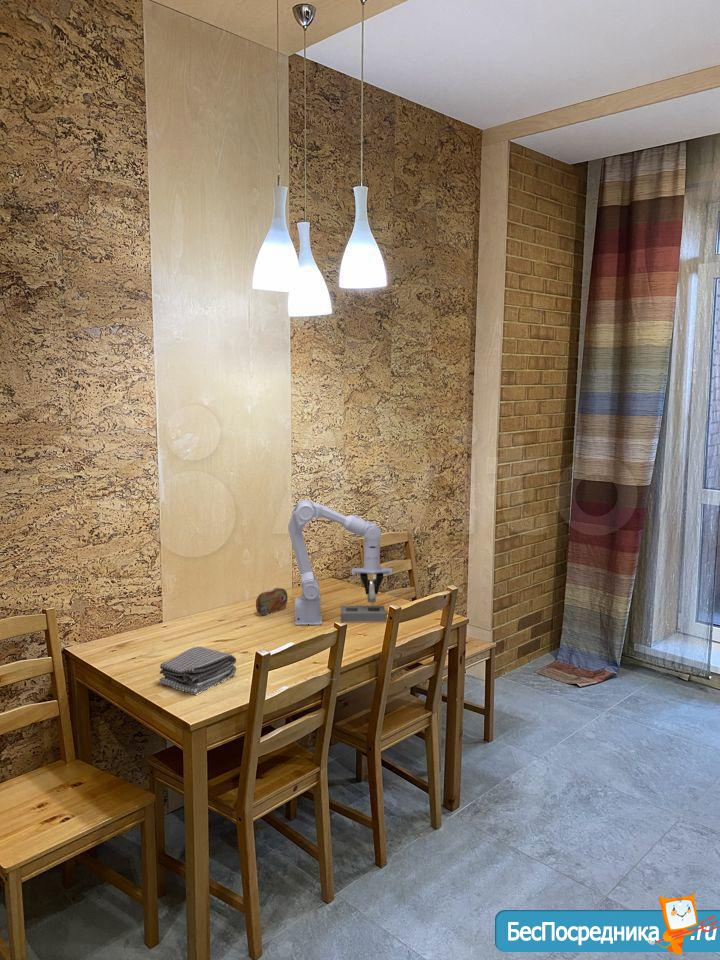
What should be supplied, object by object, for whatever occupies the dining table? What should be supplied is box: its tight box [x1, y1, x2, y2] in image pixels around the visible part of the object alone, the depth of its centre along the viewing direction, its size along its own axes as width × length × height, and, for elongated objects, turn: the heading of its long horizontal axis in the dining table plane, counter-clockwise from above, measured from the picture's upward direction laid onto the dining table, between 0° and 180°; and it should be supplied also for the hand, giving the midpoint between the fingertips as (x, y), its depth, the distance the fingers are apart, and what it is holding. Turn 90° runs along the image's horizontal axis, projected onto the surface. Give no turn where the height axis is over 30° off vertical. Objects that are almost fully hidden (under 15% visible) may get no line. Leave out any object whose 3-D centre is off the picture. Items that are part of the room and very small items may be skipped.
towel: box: [159, 646, 237, 695], centre depth 221 cm, size 15×18×8 cm
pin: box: [367, 578, 377, 604], centre depth 274 cm, size 3×3×8 cm
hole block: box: [340, 605, 387, 624], centre depth 276 cm, size 16×9×4 cm, turn 92°
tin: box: [255, 587, 289, 616], centre depth 284 cm, size 15×3×8 cm, turn 143°
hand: (371, 593), depth 274 cm, fingers closed on pin, 3 cm apart
